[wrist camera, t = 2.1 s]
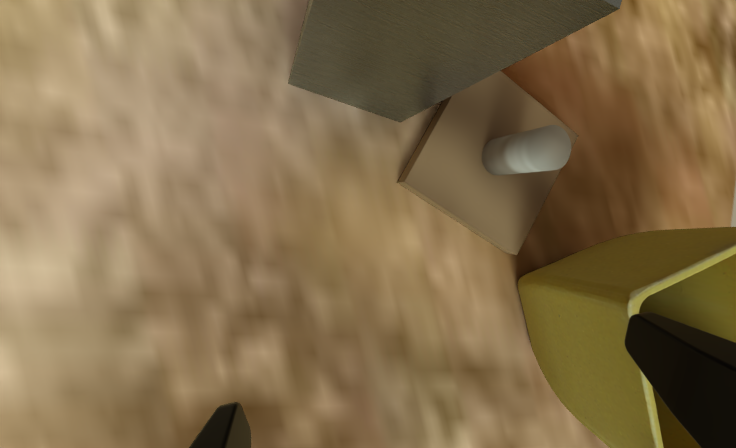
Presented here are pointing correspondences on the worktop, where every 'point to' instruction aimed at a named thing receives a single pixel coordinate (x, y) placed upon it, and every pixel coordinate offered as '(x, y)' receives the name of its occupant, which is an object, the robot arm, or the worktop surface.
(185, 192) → the worktop surface
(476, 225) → the tan piece
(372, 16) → the open square box
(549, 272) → the flower pot
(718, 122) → the worktop surface
